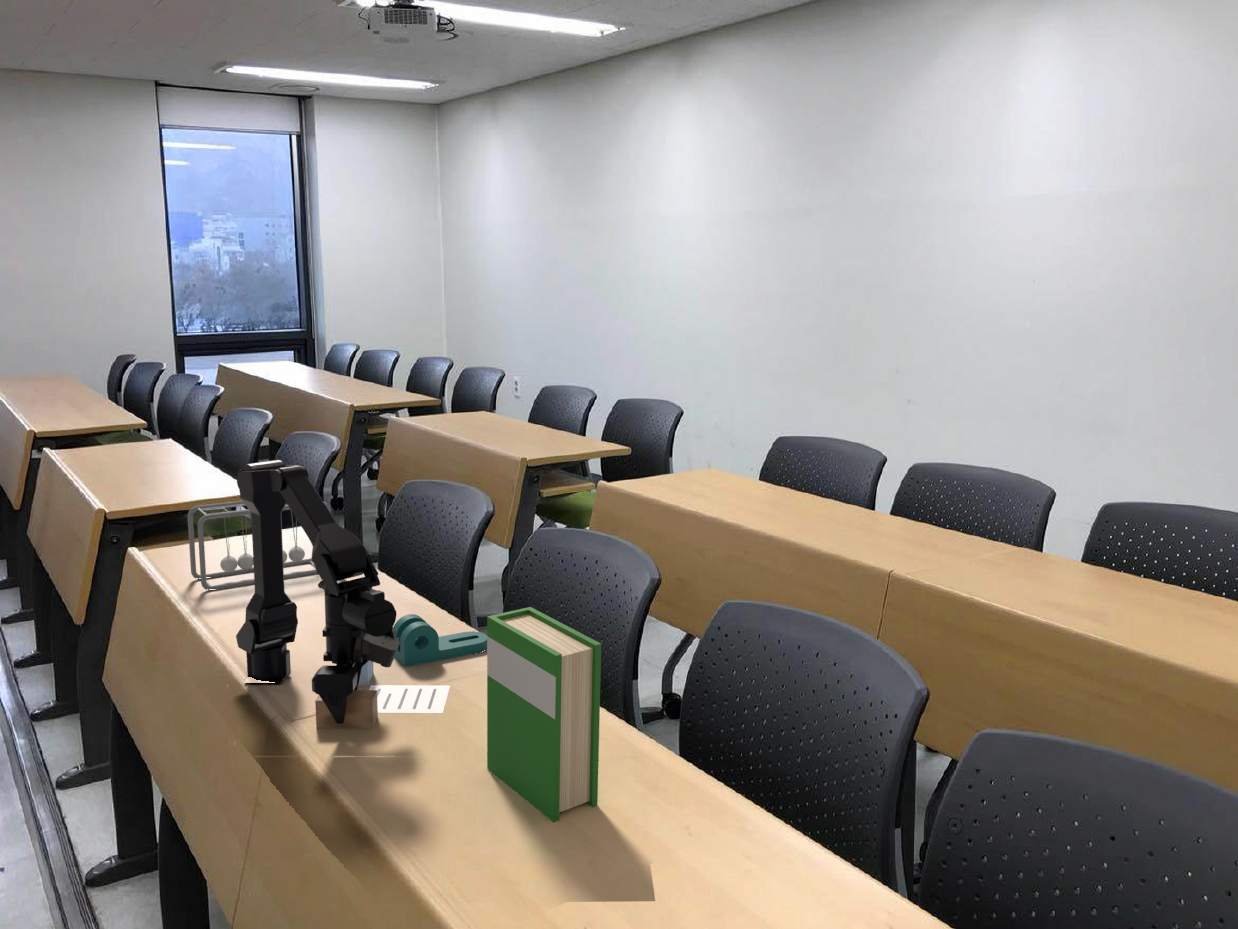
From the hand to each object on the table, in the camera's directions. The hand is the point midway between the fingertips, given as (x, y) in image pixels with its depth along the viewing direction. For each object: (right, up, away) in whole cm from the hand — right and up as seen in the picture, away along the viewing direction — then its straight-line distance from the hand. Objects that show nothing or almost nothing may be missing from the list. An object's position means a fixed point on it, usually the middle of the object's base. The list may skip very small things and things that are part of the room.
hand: (346, 710), depth 160 cm
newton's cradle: (-40, +13, +74) cm, 85 cm away
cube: (-3, +1, +17) cm, 17 cm away
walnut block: (0, -2, +1) cm, 2 cm away
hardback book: (+33, -7, -17) cm, 38 cm away
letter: (+8, -1, +10) cm, 12 cm away
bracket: (+10, +3, +30) cm, 32 cm away
